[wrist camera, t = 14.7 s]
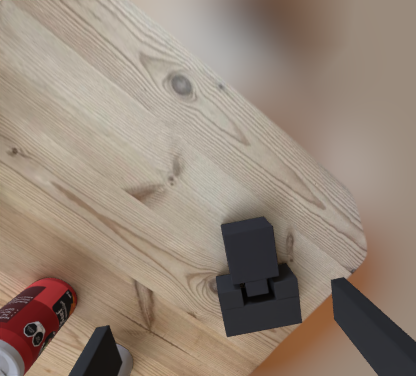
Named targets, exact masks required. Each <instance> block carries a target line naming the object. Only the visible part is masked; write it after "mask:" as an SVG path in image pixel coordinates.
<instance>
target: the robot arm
mask: <svg viewBox="0 0 416 376" xmlns="http://www.w3.org/2000/svg"><path fill="white" fill-rule="evenodd" d="M331 287H332V298H333V311H334V319H335V321H336V322H337V323H338V325H339V326H340V327H341V328H342V330H343V331H344V332H345V334H346V335H347V336H348V337H349V339H350V340H351V341H352V343H353V344H354V345H355V346H356V347H357V349H358V350H359V351H360V353H361V354H362V355H363V357H364V358H365V359H366V360H367V362H368V363H369V364H370V366H371V367H372V368H373V369H374V371H375V372H376V373H377V374H378V376H416V342H415V341H414V340H413V339H412V338H411V337H410V336H409V335H407V334H406V333H405V332H404V331H403V330H402V329H401V328H400V327H399V326H397V325H396V324H395V323H394V322H393V321H392V320H391V319H390V318H389V317H388V316H386V315H385V314H384V313H383V312H382V311H381V310H380V309H379V308H378V307H376V306H375V305H374V304H373V303H372V302H371V301H370V300H369V299H368V298H366V297H365V296H364V295H363V294H362V293H361V292H360V291H359V290H358V289H356V288H355V287H354V286H353V285H352V284H351V283H350V282H348V281H347V280H346V279H345V278H344V277H342V278H338V279H333V280H331ZM122 363H123V362H122V359H121V356H120V353H119V351H118V348H117V345H116V343H115V340H114V337H113V334H112V332H111V329H110V326H109V325H107V326H102V327H97V328H96V329H95V331H94V332H93V334H92V336H91V338H90V339H89V341H88V343H87V344H86V346H85V348H84V350H83V351H82V353H81V355H80V357H79V358H78V360H77V362H76V363H75V365H74V367H73V369H72V370H71V372H70V374H69V375H68V376H118V374H119V371H120V368H121V365H122Z"/></svg>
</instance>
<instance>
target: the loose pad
mask: <svg viewBox="0 0 416 376" xmlns="http://www.w3.org/2000/svg"><path fill="white" fill-rule="evenodd" d="M221 229H222V235H223V240H224V245H225V251H226V256H227V261H228V267H229V271H230V276H231V280H232V284H233V285H235V284H240V283H244V286H245V289H246V293H247V296H248V297H250V296H255V295H261V294H266V293H269V291H268V284H267V278H271V277H276V276H279V270H278V263H277V255H276V247H275V240H274V232H273V226H272V225H271V224H270V223H269V222H268V221H267V219H266V218H265V217H259V218H254V219H248V220H243V221H238V222H233V223H228V224H222V225H221Z"/></svg>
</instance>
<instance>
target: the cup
mask: <svg viewBox="0 0 416 376" xmlns="http://www.w3.org/2000/svg"><path fill="white" fill-rule="evenodd" d="M116 345H117V348H118V351H119V353H120V356H121V359H122V362H123V363H122V365H121V368H120V371H119V374H118V376H130V374H131V371H132V367H133V357H132V356H131V354H130V352H129V351H128V350H127V349H125V348H124V347H122V346H121V345H118V344H116Z"/></svg>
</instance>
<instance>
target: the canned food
mask: <svg viewBox="0 0 416 376" xmlns="http://www.w3.org/2000/svg"><path fill="white" fill-rule="evenodd" d="M76 303H77V297H76V293H75V292H74V290H73V288H72V287H71V286H70V285H69V284H67V283H66V282H64V281H62V280H60V279H56V278H44V279H41V280H39V281H36V282H34V283H33V284H31V285H30V286H29V287H27V288H26V289H25V290H24V291H22V292H21V293H20V294H19V295H17V296H16V297H15V298H14V299H12V300H11V301H10V302H9V303H7V304H6V305H5V306H4V307H2V308H1V309H0V376H24V375H25V374H26V372H27V371H28V370H29V369H30V367H31V366H32V365H33V363H34V362H35V361H36V360H37V358H38V357H39V356H40V354H41V353H42V352H43V350H44V349H45V348H46V347H47V345H48V344H49V343H50V341H51V340H52V339H53V338H54V336H55V335H56V334H57V332H58V331H59V330H60V328H61V327H62V326H63V325H64V323H65V322H66V321H67V319H68V318H69V317H70V315H71V314H72V313H73V311H74V309H75V306H76Z"/></svg>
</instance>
